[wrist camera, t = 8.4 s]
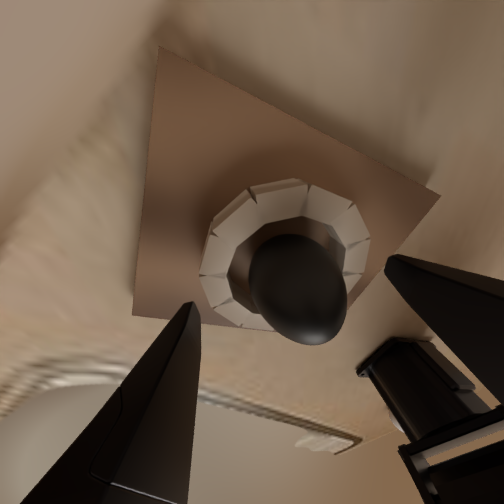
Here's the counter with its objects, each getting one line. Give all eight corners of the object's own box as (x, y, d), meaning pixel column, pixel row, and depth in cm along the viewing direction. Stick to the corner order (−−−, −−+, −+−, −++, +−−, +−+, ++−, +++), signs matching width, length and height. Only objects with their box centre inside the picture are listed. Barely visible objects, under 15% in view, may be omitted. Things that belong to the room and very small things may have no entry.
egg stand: (318, 327, 16) (334, 355, 14) (138, 302, 12) (119, 338, 9) (423, 191, 11) (474, 203, 9) (167, 58, 6) (140, 16, 4)
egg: (230, 269, 10) (237, 361, 6) (274, 208, 9) (326, 269, 4) (285, 294, 12) (322, 380, 8) (330, 245, 10) (407, 317, 6)
